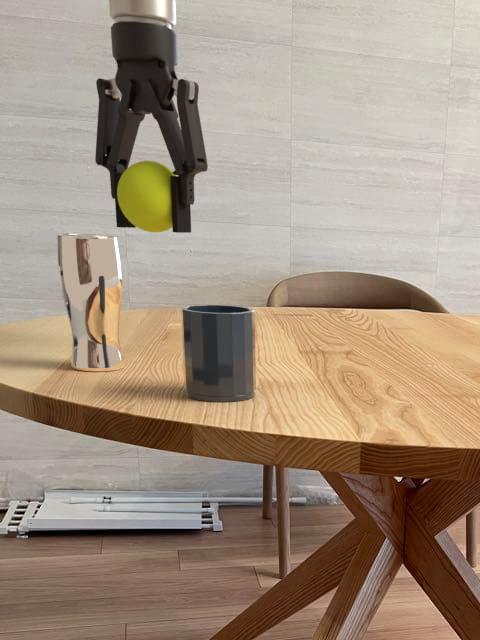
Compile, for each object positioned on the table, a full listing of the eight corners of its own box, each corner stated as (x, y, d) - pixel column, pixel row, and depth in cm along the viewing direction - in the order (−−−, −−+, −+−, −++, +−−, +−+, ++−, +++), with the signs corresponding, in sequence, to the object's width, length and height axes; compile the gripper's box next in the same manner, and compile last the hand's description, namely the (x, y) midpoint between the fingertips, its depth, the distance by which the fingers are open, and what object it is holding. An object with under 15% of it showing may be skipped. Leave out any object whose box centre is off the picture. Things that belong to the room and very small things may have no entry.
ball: (104, 229, 104) (99, 156, 101) (149, 230, 111) (146, 161, 108) (158, 234, 101) (154, 159, 98) (200, 234, 108) (198, 164, 105)
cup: (171, 395, 88) (166, 308, 84) (213, 384, 94) (210, 302, 90) (228, 405, 85) (226, 315, 81) (268, 393, 91) (267, 309, 88)
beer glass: (103, 374, 96) (91, 237, 90) (54, 368, 98) (40, 233, 92) (140, 365, 102) (131, 236, 96) (94, 359, 104) (83, 233, 98)
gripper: (236, 31, 97) (239, 235, 106) (98, 33, 105) (111, 224, 113) (196, 16, 91) (202, 236, 99) (52, 20, 98) (69, 223, 107)
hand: (153, 229), depth 106 cm, fingers closed on ball, 8 cm apart
